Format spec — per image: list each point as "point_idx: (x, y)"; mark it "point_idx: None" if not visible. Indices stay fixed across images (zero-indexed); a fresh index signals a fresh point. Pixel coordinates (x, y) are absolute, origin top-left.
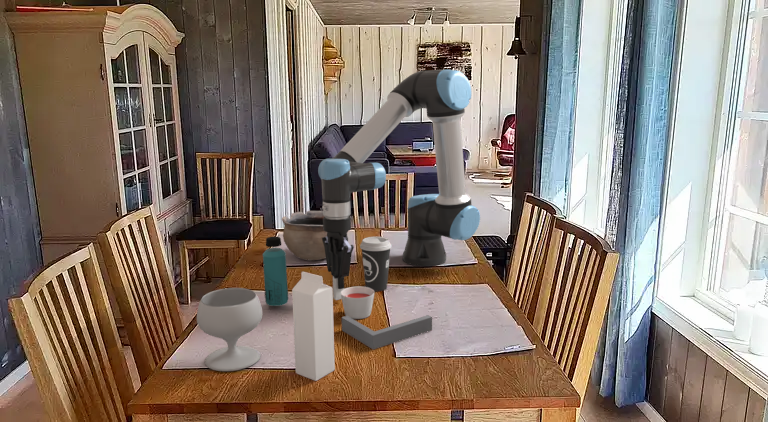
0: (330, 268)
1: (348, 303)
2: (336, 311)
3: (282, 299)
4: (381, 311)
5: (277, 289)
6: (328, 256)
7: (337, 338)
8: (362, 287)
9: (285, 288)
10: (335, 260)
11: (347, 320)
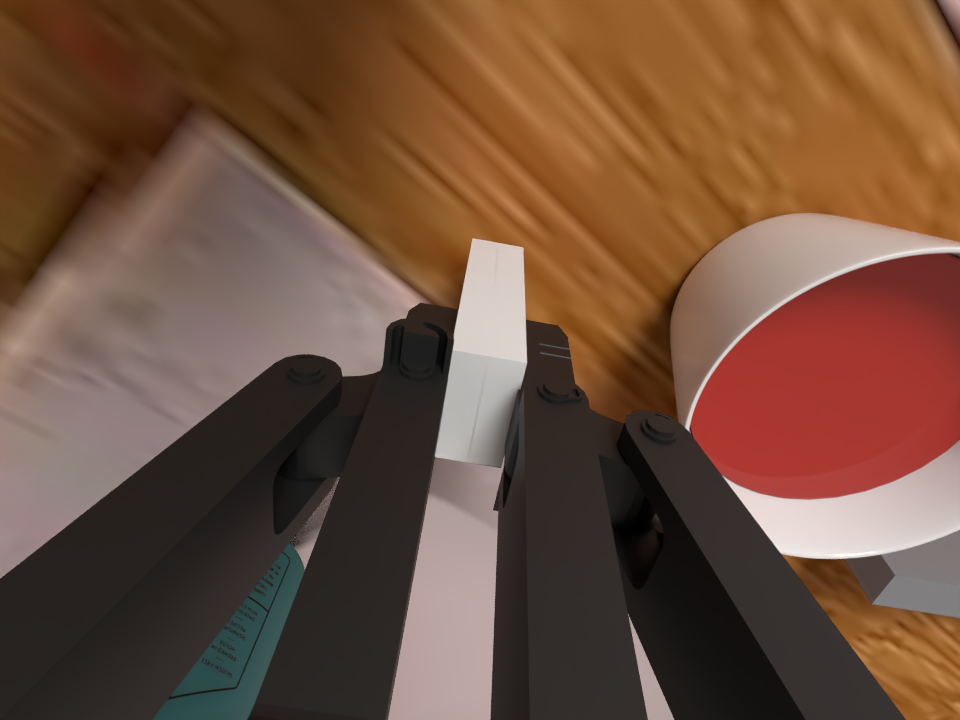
0: (324, 487)
1: (826, 502)
2: (591, 374)
3: None
4: (944, 127)
5: None
6: (192, 655)
7: (862, 592)
8: (832, 275)
9: (258, 650)
10: (491, 697)
11: (942, 614)
